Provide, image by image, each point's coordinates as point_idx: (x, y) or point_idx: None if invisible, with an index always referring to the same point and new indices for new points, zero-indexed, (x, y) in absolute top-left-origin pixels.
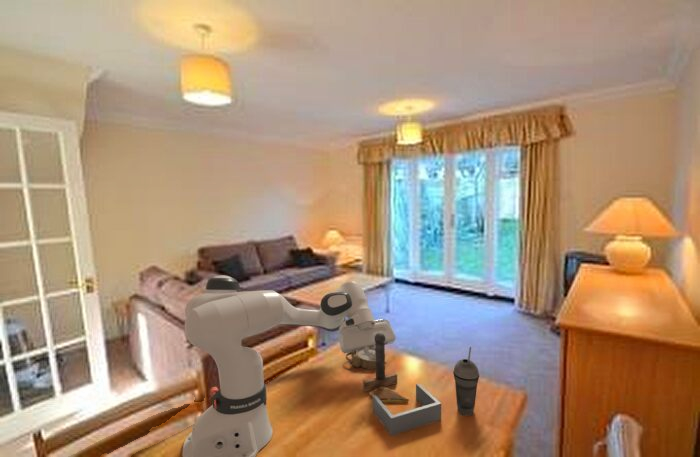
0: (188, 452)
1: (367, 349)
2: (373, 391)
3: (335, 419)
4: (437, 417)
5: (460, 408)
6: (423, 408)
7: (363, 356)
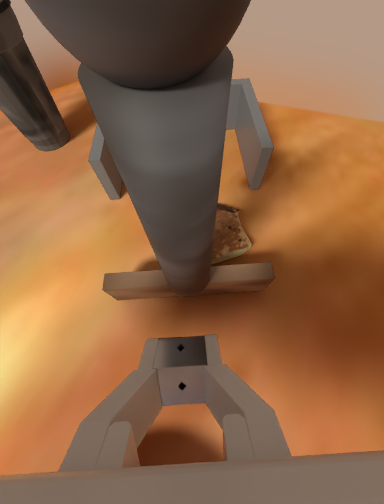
0: None
1: (244, 416)
2: (235, 246)
3: (368, 189)
4: None
5: (63, 122)
6: None
7: None
